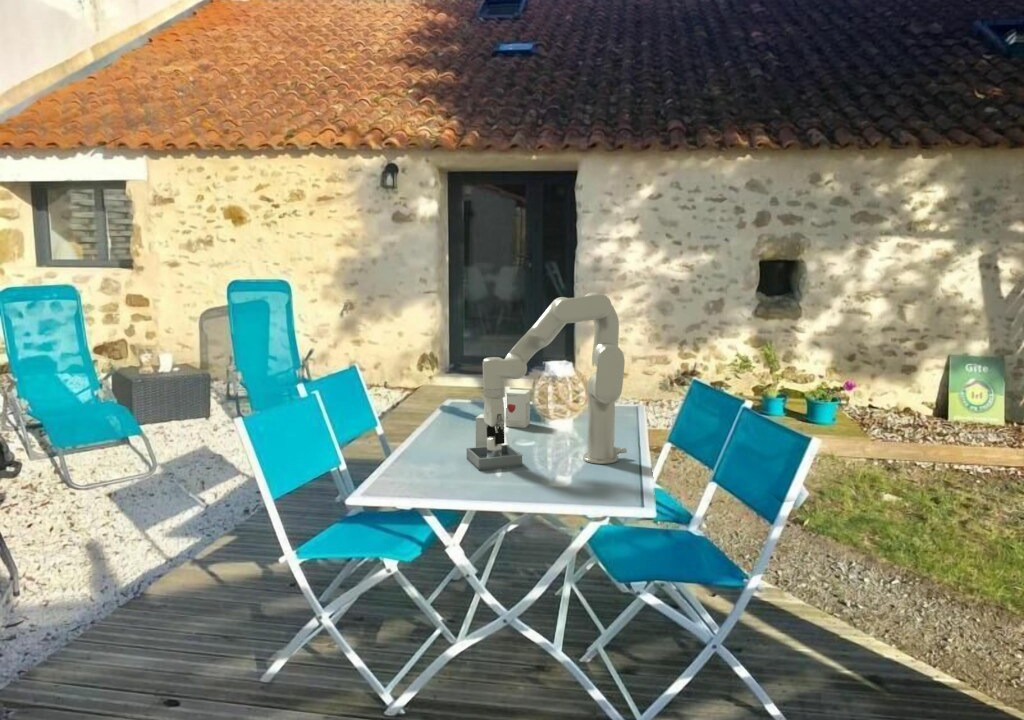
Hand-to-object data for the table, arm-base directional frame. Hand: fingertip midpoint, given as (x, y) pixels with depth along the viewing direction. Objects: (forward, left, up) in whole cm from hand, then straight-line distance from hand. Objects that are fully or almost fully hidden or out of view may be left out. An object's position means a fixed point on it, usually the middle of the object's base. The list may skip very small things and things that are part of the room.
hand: (495, 440), depth 270 cm
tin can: (+1, 0, -7) cm, 7 cm away
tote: (+1, 0, -8) cm, 8 cm away
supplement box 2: (-27, -53, -8) cm, 60 cm away
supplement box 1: (-3, -20, -8) cm, 22 cm away
